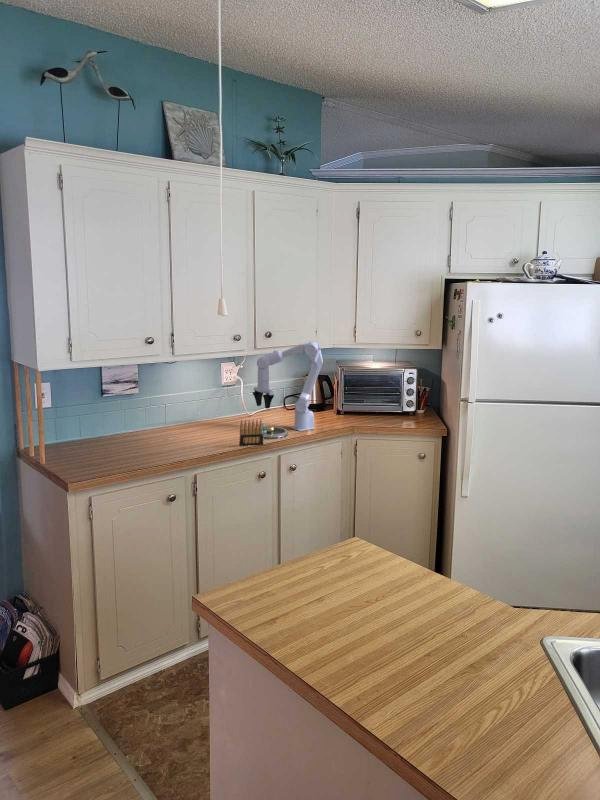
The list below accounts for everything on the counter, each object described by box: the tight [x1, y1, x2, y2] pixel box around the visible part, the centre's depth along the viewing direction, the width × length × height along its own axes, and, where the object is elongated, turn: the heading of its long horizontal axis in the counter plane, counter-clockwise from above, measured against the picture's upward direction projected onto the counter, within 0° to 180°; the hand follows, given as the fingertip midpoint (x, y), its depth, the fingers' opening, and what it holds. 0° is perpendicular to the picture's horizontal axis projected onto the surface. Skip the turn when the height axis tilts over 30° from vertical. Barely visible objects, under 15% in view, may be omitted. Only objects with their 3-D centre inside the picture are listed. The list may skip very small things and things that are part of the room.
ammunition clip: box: [238, 418, 264, 447], centre depth 295 cm, size 11×2×12 cm, turn 106°
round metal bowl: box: [263, 426, 289, 440], centre depth 315 cm, size 17×17×4 cm
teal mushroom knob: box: [262, 423, 267, 434], centre depth 312 cm, size 4×4×5 cm
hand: (263, 407), depth 328 cm, fingers open, 7 cm apart
